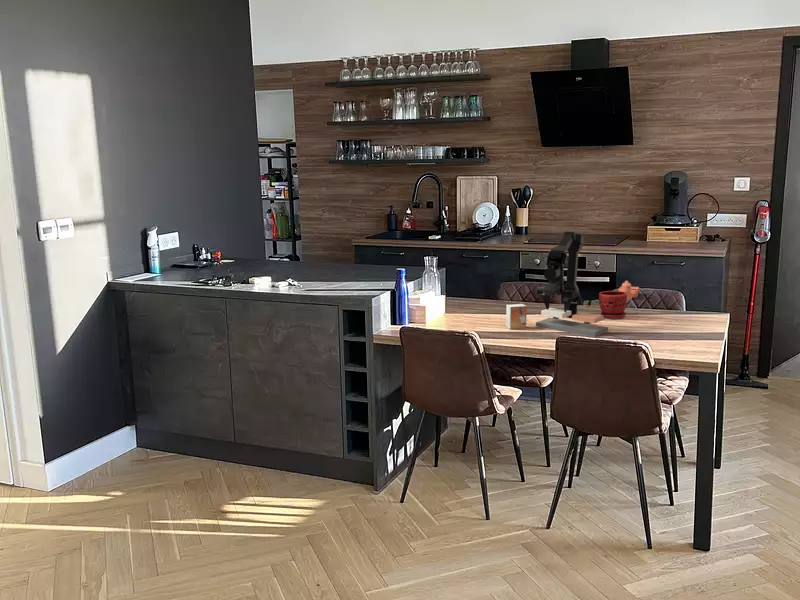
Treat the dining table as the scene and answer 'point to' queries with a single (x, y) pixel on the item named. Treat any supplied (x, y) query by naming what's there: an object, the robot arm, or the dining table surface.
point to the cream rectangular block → (555, 313)
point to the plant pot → (613, 304)
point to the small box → (516, 316)
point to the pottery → (629, 290)
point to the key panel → (572, 327)
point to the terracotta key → (587, 317)
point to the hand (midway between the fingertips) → (556, 310)
